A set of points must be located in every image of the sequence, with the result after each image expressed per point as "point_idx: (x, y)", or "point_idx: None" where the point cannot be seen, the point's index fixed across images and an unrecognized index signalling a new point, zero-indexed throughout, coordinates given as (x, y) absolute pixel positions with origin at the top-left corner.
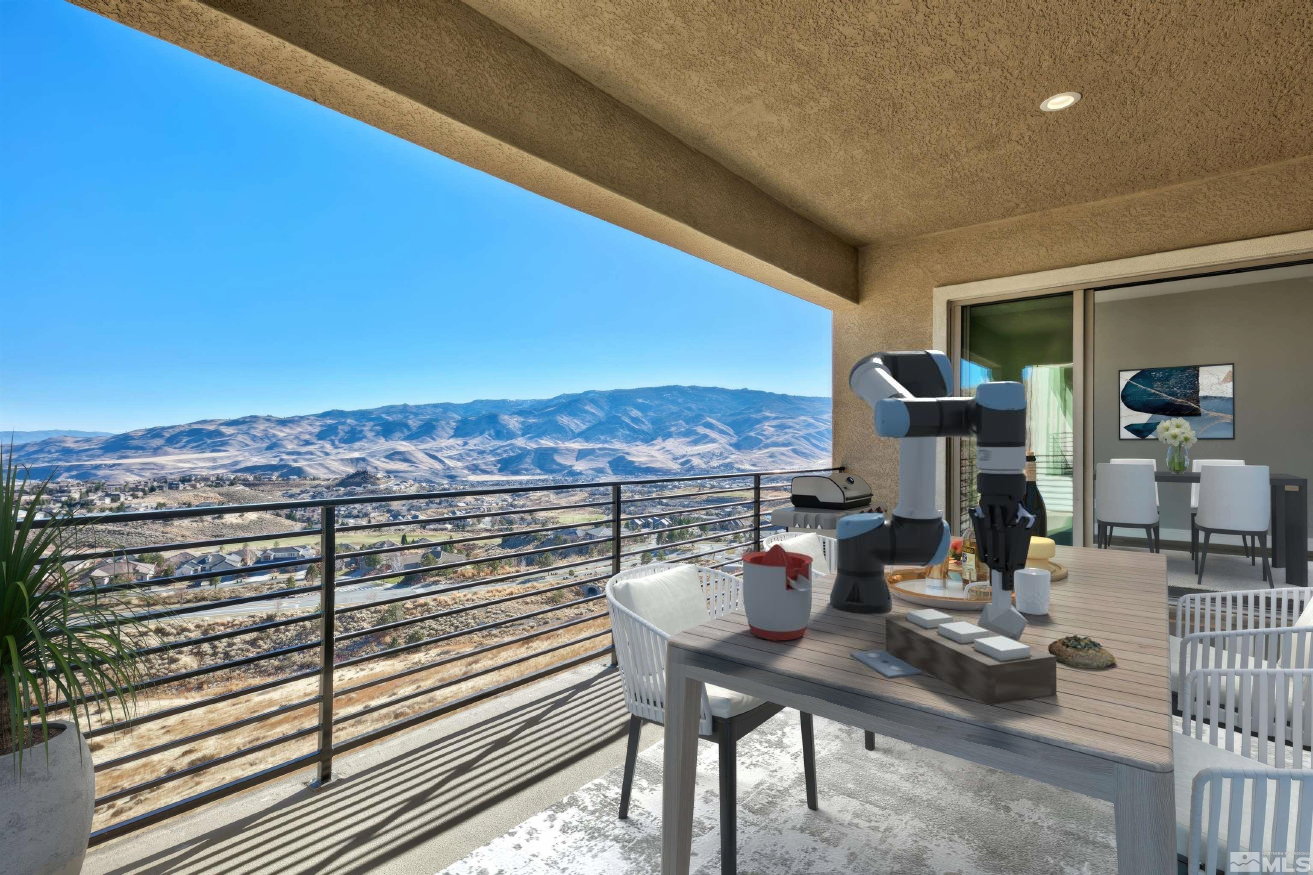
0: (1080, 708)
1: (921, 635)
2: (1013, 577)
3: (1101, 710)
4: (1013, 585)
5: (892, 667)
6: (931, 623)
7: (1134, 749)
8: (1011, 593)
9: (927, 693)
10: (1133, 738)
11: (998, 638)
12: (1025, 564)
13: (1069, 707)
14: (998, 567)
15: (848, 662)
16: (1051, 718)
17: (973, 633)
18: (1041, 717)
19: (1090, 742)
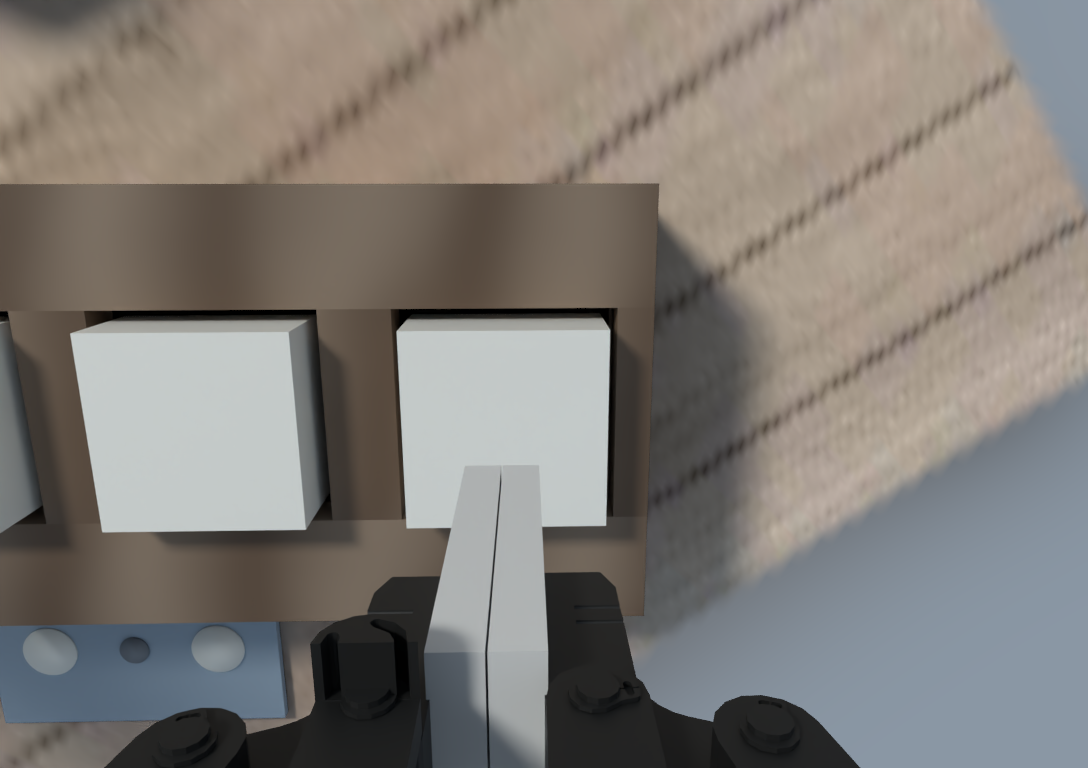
0: (767, 214)
1: (156, 621)
2: (627, 656)
3: (813, 145)
4: (616, 605)
5: (209, 660)
6: (12, 493)
7: (1060, 334)
8: (541, 517)
9: None
10: (1014, 259)
11: (432, 388)
12: (845, 754)
13: (743, 250)
14: (425, 755)
15: (94, 764)
16: (786, 403)
17: (300, 445)
18: (767, 431)
19: (965, 431)
